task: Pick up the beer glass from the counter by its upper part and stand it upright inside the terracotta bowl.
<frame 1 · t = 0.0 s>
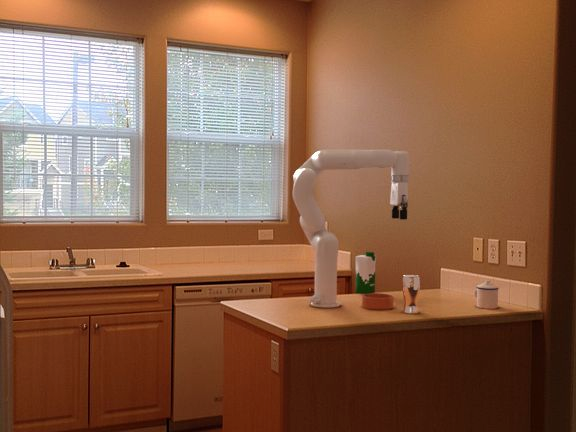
hand: (399, 218, 287), 37 cm above the counter, tool pointing down, fingers open, 9 cm apart
teacup with lid: (484, 307, 283), on the counter
beer glass: (410, 312, 269), on the counter
milk carton: (365, 293, 318), on the counter
bowl: (377, 307, 279), on the counter
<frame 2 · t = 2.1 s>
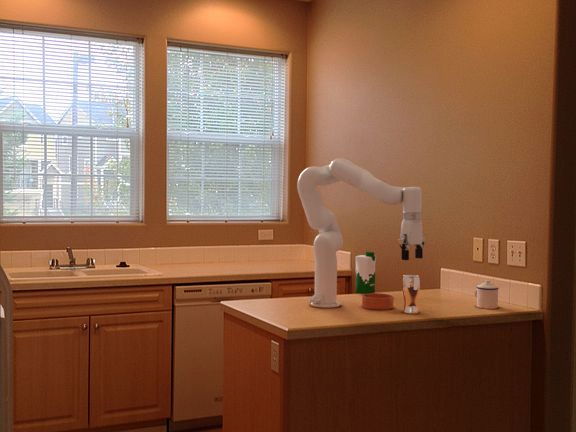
hand: (412, 259, 268), 22 cm above the counter, tool pointing down, fingers open, 9 cm apart
nothing on the counter moved.
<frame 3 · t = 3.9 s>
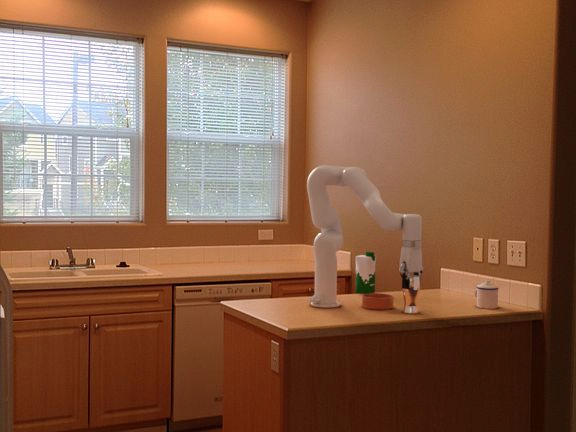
hand: (411, 287, 268), 10 cm above the counter, tool pointing down, fingers closed on beer glass, 7 cm apart
beer glass: (410, 312, 269), on the counter, touching gripper
everything else where it was.
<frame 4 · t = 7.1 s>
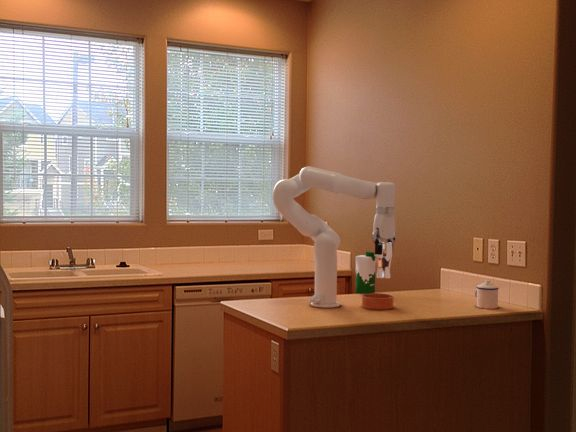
hand: (383, 253, 276), 23 cm above the counter, tool pointing down, fingers closed on beer glass, 7 cm apart
beer glass: (383, 278, 277), point 13 cm above the counter, touching gripper
everything else where it was.
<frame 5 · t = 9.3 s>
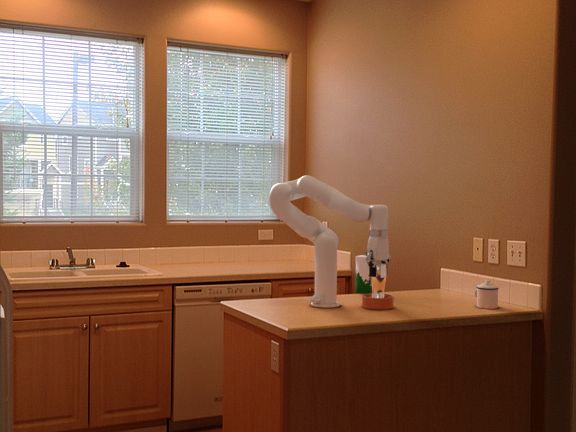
hand: (378, 275, 279), 14 cm above the counter, tool pointing down, fingers closed on beer glass, 7 cm apart
beer glass: (378, 299, 279), point 3 cm above the counter, touching gripper
everything else where it was.
when the fingers open (11 cm above the counter, at t = 10.7 s): beer glass stays where it is, resting on bowl.
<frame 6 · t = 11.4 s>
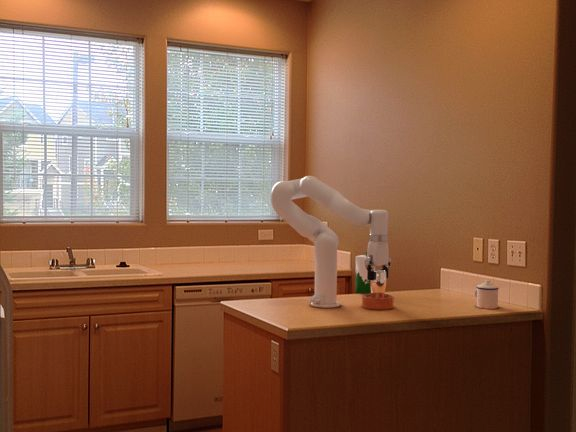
hand: (377, 279, 279), 12 cm above the counter, tool pointing down, fingers open, 9 cm apart
beer glass: (377, 306, 279), resting on bowl
everything else where it was.
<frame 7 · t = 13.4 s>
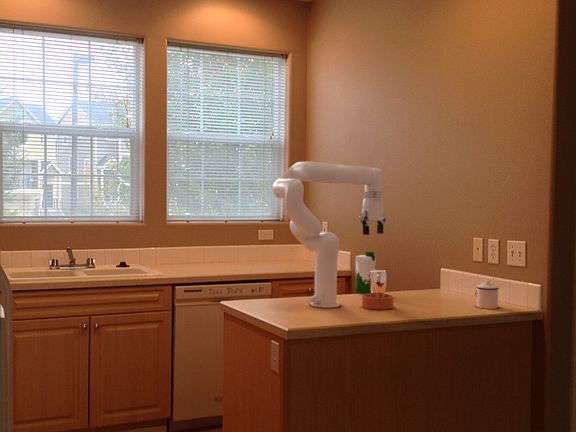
hand: (373, 234, 294), 30 cm above the counter, tool pointing down, fingers open, 9 cm apart
nothing on the counter moved.
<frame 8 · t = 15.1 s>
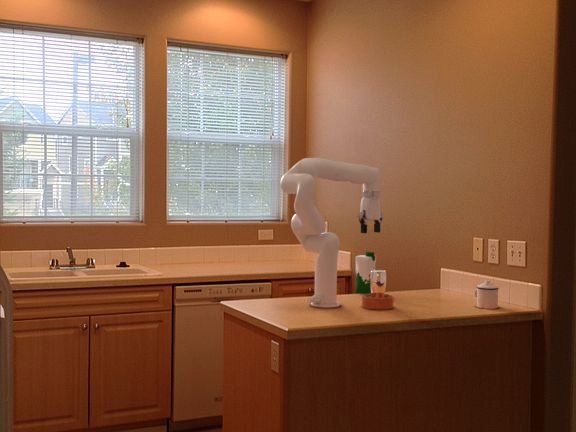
hand: (370, 232, 300), 30 cm above the counter, tool pointing down, fingers open, 9 cm apart
nothing on the counter moved.
at the end: beer glass 0.0 cm off-centre in the bowl, point 0.4 cm above the bowl's base; beer glass tilted 0°; the gripper is holding nothing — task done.
